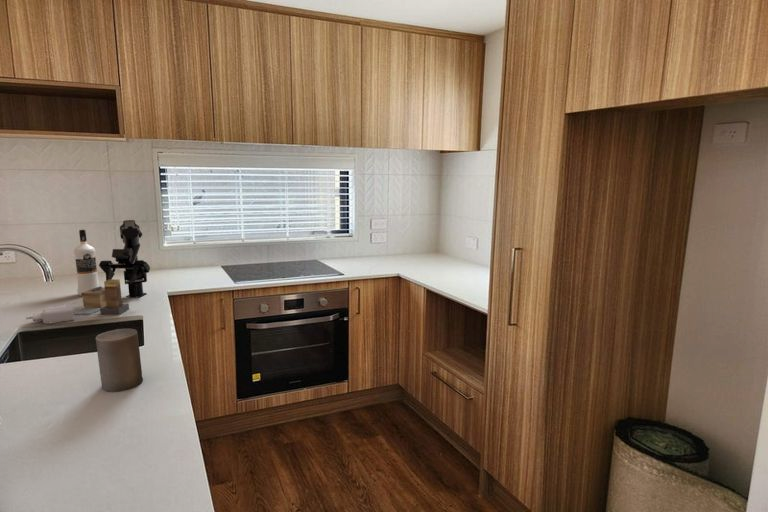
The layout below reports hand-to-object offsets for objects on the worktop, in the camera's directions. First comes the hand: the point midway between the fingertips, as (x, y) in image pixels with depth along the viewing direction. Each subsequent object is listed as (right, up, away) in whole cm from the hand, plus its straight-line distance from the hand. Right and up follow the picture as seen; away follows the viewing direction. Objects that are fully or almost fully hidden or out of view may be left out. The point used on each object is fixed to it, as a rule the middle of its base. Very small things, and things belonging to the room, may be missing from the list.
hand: (118, 283), depth 200 cm
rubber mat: (-12, -11, -2) cm, 16 cm away
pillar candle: (+39, -23, -70) cm, 84 cm away
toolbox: (-13, -10, +8) cm, 18 cm away
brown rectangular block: (0, -11, -2) cm, 12 cm away
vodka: (-29, -7, +28) cm, 41 cm away
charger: (-18, -14, -13) cm, 27 cm away
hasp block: (0, -11, -2) cm, 12 cm away
